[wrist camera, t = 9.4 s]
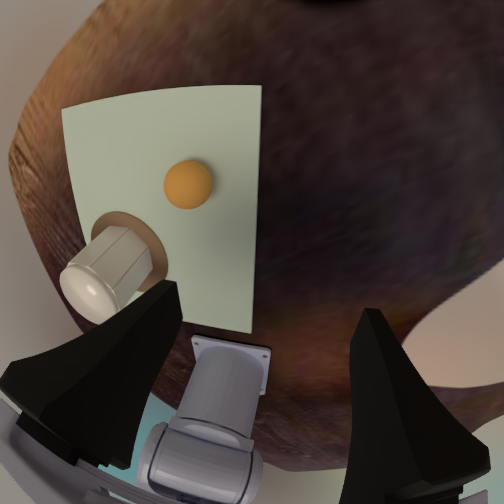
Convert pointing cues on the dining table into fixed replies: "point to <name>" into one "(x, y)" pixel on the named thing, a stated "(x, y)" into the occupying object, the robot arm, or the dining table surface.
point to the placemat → (152, 191)
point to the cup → (106, 273)
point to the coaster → (146, 235)
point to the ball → (187, 185)
